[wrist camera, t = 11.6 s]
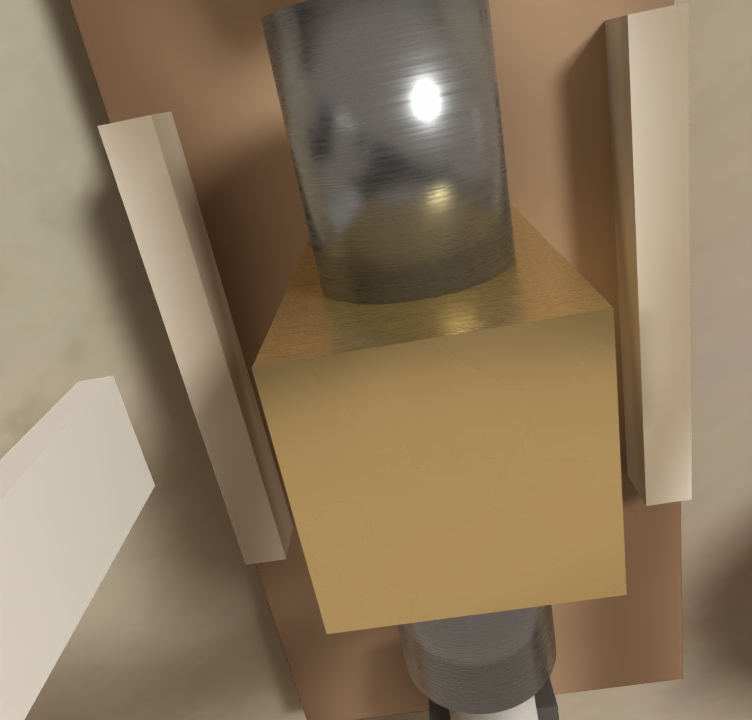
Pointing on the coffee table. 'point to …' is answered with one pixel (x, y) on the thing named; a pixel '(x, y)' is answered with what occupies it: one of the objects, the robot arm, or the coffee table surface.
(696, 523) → the coffee table surface
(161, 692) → the coffee table surface
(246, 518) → the coupling cradle
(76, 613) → the robot arm
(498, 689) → the universal joint
